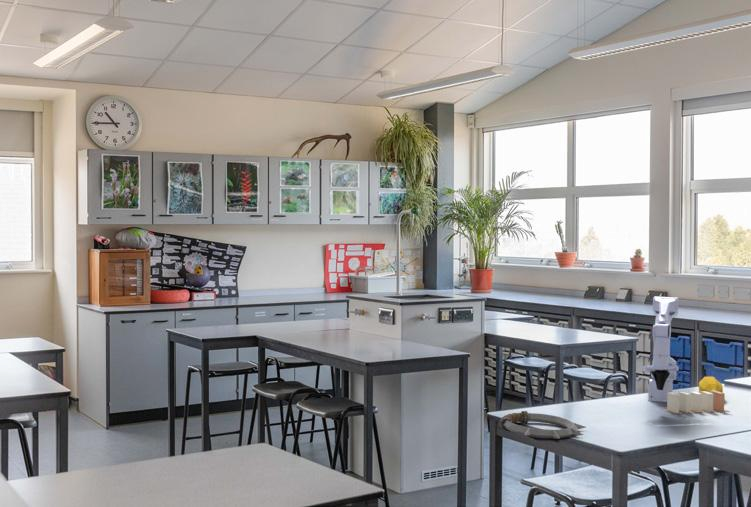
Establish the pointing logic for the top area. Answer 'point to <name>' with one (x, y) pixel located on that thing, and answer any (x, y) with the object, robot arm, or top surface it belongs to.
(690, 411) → the domino board
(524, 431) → the spiked ring
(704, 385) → the yellow elongated lump
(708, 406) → the domino
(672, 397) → the domino
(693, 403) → the domino
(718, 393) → the domino
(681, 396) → the domino
